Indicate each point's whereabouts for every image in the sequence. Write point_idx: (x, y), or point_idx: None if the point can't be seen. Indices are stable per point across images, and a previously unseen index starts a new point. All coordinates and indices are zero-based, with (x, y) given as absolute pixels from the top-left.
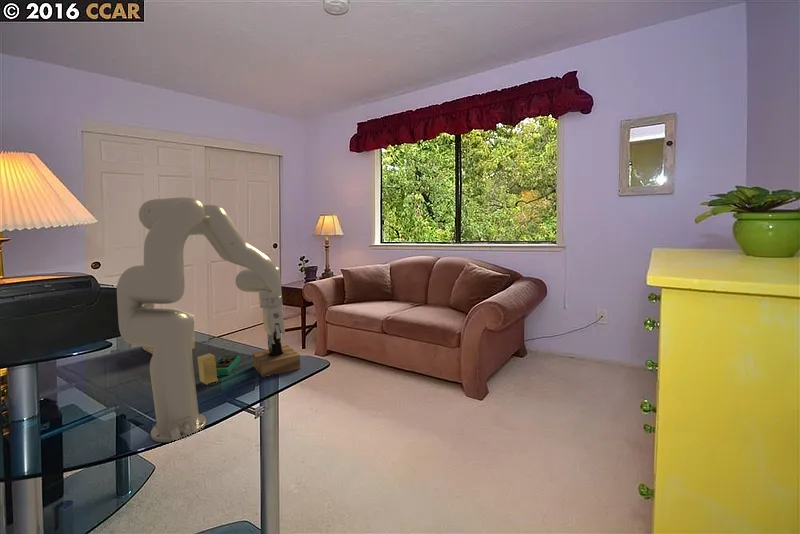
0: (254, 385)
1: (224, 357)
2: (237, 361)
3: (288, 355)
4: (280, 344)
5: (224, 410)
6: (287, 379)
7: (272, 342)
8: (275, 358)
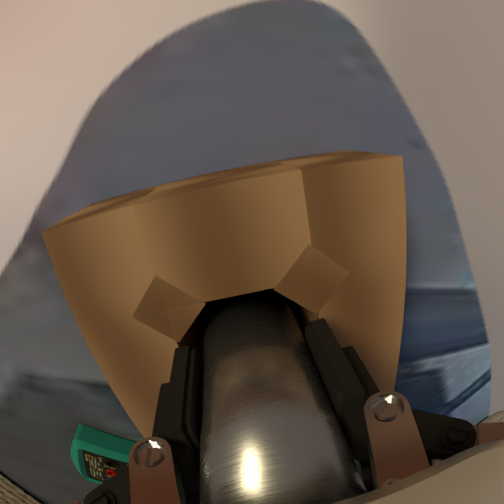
0: (409, 375)
1: (89, 473)
2: (112, 443)
3: (367, 255)
4: (355, 381)
5: (478, 403)
6: (446, 249)
7: (360, 461)
8: (368, 351)
